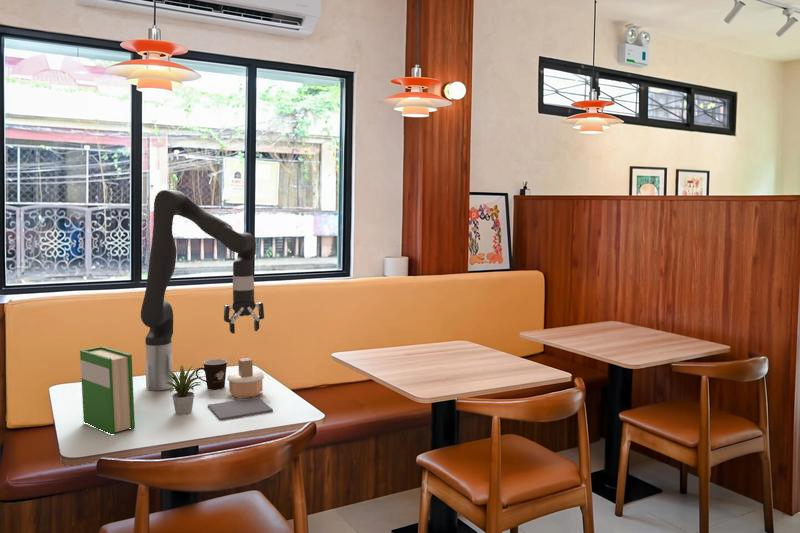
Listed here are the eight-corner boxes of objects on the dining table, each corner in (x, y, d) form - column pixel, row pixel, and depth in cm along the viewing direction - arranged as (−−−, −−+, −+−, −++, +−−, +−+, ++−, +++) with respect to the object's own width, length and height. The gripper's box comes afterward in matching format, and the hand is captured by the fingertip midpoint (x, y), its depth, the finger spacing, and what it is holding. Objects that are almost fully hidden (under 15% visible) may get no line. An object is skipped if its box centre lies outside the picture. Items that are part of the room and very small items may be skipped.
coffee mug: (226, 383, 258) (226, 358, 257) (228, 389, 250) (227, 363, 249) (195, 386, 254) (194, 360, 253) (196, 392, 246) (195, 366, 245)
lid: (233, 385, 235) (232, 365, 234) (223, 376, 246) (222, 357, 245) (268, 380, 241) (268, 361, 241) (257, 371, 253) (257, 353, 252)
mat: (219, 420, 216) (219, 418, 216) (207, 406, 230) (207, 404, 230) (273, 411, 225) (273, 409, 225) (258, 399, 239) (258, 396, 238)
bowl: (235, 400, 237) (235, 384, 236) (227, 392, 246) (226, 376, 246) (265, 395, 242) (265, 379, 242) (256, 388, 252) (255, 372, 251)
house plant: (186, 423, 214) (184, 373, 212) (151, 417, 218) (149, 369, 217) (213, 409, 227) (211, 363, 225) (179, 405, 232) (178, 359, 230)
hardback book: (134, 429, 208) (131, 354, 205) (112, 436, 202) (108, 359, 199) (106, 417, 219) (102, 346, 216) (83, 423, 213) (79, 350, 210)
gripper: (259, 285, 247) (260, 328, 249) (221, 288, 240) (222, 332, 242) (265, 288, 240) (266, 331, 242) (226, 290, 233) (227, 336, 235)
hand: (244, 332), depth 242 cm, fingers open, 8 cm apart
